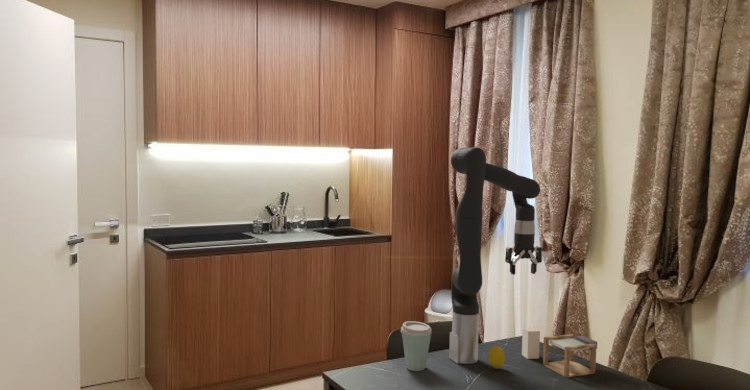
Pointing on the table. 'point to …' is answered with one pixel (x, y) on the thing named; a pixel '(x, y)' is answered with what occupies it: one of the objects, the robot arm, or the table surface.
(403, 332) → the disposable coffee cup
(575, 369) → the frame
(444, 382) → the table surface
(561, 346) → the door
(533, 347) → the block
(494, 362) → the lemon
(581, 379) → the table surface
